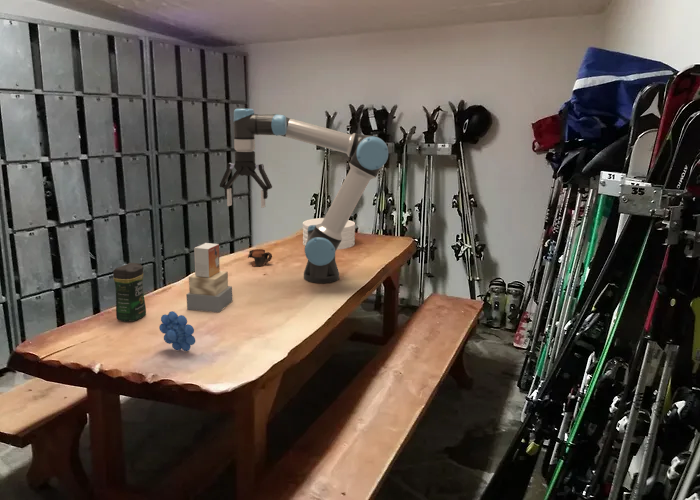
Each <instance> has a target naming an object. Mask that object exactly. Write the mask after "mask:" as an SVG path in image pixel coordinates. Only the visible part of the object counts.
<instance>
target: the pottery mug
mask: <svg viewBox="0 0 700 500" xmlns="http://www.w3.org/2000/svg"><path fill="white" fill-rule="evenodd" d="M272 255H273V254H272V253H271V252H268V251H267V252H266V250H265V249H263V248H262V249H261V248H257V249H256V248H255V249H251V250H249V254H248V255H247V259H249V258H251V259H253V261H251V262H250V265H251V267H264V266H265V265H266V264H268V263H269V262H270V261H271V260H272V258H273V256H272Z"/></svg>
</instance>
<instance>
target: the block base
mask: <svg viewBox="0 0 700 500" xmlns="http://www.w3.org/2000/svg"><path fill="white" fill-rule="evenodd" d="M185 294H186V309H187V310H189V311H200V312H210V311H212V313H220V312H221V311H223V310H222V309H223V308H224V307H225V308H226V307H227V306H228V305H230V304H231V303H232V302H233V287H232V285H231V286H230V285H228V288H226V289H225V290H224V291H222V292H221V293H219V294H218V295H216V296H211V295H201V294H191V293H190V291H188V292H187V293H185ZM229 303H230V304H229ZM225 308H224V309H225Z"/></svg>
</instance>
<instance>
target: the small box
mask: <svg viewBox="0 0 700 500" xmlns="http://www.w3.org/2000/svg"><path fill="white" fill-rule="evenodd" d="M193 251H194V252H193V254H194V274H195V276H199V277H208V278H209V277H211V276H213V275H215V274H217V273H219V272H220V271H221V269H220V244H219V243H209V242H204V243H202V244H200V245H198V246H195V247H194V248H193Z"/></svg>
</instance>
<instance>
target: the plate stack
mask: <svg viewBox="0 0 700 500" xmlns="http://www.w3.org/2000/svg"><path fill="white" fill-rule="evenodd" d="M324 218H325V217H319V218H318V217H317V218H310V219H306V220H304V221H303V222H302V235H303V236H302V240H303V241H302V245H303V246H304V247H305V245H306V243H307V240H308V232H307V231H308V227H309V226H310V225H317V224H321V223H322V221H323V220H324ZM341 236H342V240H341V242H340V244H339V246H338V248H337V250H343V249H344V250H345V249H349V248H353V247H354V246H355V242H356V241H355V240H356V222H355V221H353V220H349V219H348V221H347V223H346V225H345V227H344V229H343V231H342V232H341Z"/></svg>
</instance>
